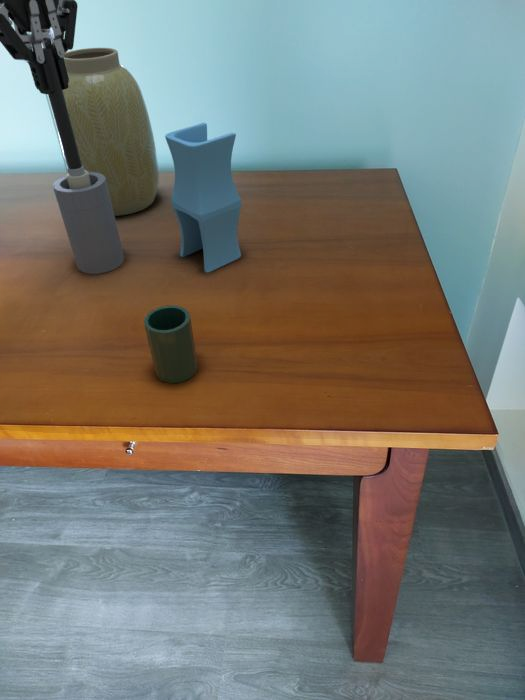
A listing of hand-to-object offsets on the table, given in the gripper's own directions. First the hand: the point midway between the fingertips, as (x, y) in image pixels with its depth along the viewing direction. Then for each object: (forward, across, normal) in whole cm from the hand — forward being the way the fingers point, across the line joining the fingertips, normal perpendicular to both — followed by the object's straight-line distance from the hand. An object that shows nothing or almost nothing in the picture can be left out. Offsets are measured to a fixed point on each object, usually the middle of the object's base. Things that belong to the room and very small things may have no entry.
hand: (54, 90), depth 72 cm
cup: (+27, 0, 0) cm, 27 cm away
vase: (+27, -20, -13) cm, 36 cm away
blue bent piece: (+27, -10, +16) cm, 33 cm away
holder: (+27, +16, +28) cm, 42 cm away
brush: (+18, 0, 0) cm, 18 cm away
